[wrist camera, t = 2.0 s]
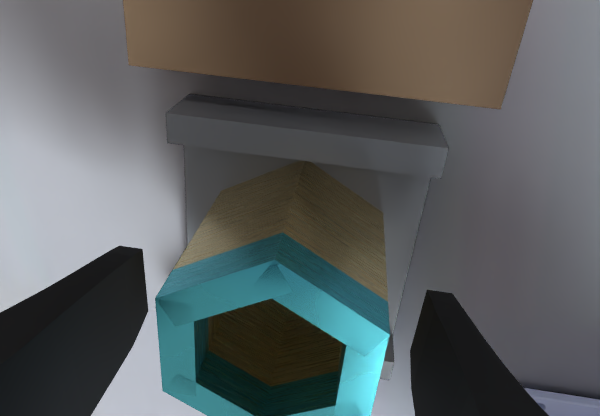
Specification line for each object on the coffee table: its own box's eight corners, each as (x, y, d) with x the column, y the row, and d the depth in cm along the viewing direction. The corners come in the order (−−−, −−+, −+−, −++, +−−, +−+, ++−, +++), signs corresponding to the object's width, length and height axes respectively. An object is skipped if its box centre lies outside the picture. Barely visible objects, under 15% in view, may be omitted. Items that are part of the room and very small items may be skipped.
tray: (439, 124, 13) (448, 148, 11) (387, 340, 17) (389, 379, 15) (189, 94, 13) (165, 113, 12) (195, 310, 17) (178, 346, 16)
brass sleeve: (391, 168, 13) (403, 278, 9) (361, 320, 16) (359, 462, 11) (221, 146, 13) (150, 242, 9) (220, 299, 16) (165, 428, 12)
